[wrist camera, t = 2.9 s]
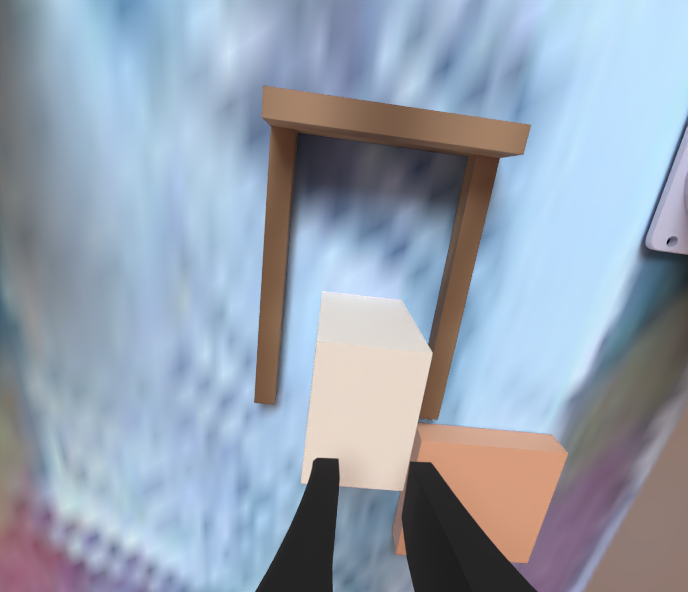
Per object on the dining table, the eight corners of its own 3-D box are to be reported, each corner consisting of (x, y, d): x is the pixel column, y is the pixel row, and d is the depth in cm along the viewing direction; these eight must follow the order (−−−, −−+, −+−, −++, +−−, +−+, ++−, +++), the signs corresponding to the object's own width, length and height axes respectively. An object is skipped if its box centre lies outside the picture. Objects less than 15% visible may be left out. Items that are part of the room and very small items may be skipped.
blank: (401, 299, 18) (433, 353, 12) (382, 402, 20) (402, 491, 14) (322, 290, 18) (316, 341, 12) (310, 395, 20) (300, 483, 14)
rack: (495, 135, 16) (530, 124, 13) (432, 408, 20) (449, 446, 17) (276, 103, 15) (263, 85, 12) (258, 391, 19) (245, 428, 16)
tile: (551, 434, 21) (568, 453, 19) (515, 539, 23) (527, 563, 22) (415, 422, 20) (421, 440, 19) (392, 530, 23) (395, 554, 21)
